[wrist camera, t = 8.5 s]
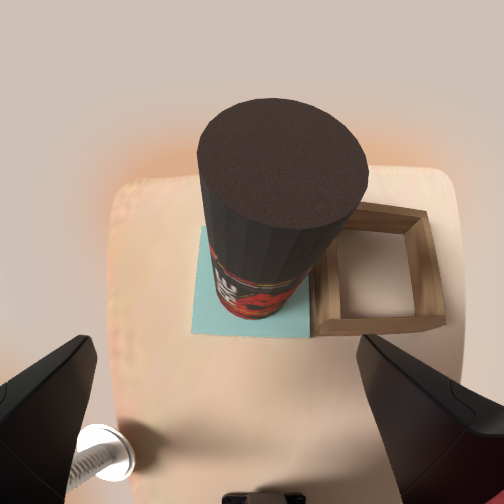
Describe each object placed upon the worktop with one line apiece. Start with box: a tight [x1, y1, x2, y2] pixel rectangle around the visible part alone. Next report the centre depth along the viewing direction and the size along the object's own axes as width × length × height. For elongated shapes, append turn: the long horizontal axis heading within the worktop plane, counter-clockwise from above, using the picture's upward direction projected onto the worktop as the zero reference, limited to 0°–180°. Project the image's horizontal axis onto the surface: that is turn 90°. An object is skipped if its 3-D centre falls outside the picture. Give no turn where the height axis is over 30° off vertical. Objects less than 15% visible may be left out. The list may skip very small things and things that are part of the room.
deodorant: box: [197, 98, 369, 320], centre depth 16 cm, size 6×6×15 cm
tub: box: [314, 202, 446, 336], centre depth 23 cm, size 11×11×4 cm
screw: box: [66, 424, 136, 493], centre depth 12 cm, size 13×5×5 cm
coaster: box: [191, 226, 310, 339], centre depth 24 cm, size 9×9×1 cm
